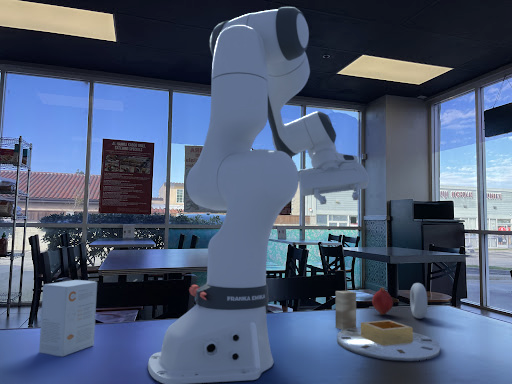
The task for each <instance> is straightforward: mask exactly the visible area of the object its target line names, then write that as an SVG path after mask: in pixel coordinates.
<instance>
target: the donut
mask: <svg viewBox="0 0 512 384" xmlns="http://www.w3.org/2000/svg"><path fill="white" fill-rule="evenodd" d="M409 301H410V302H409V305H410V311H411V314H412V316H413V317H414V318H416V319H419V320H420V319H421V320H422V319H423V318H425V316H426V314H427V311H428V293H427V290H426V287H425V286H424V284H422V283H420V282H415V283H413V284H412V286H411V288H410V293H409Z"/></svg>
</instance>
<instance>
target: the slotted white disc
mask: <svg viewBox="0 0 512 384" xmlns="http://www.w3.org/2000/svg"><path fill="white" fill-rule="evenodd" d="M336 339H337V340H336V341H337V344H338V345H339V346H340V347H341V348H343V349H344V350H347V351H349V352H351V353H354V354H358V355H360V356H364V357H368V358H373V359H379V360H386V361H398V362H417V361H418V362H419V360H420V361H426V359H427V360H430V359H434V358H435V357H438V356H439V355H440V343H439V342H437V341H436V340H435V339H433V338H432V337H429V336H427V335H424V334H421V333H419V332H415V331H413V326H410V325H406V324H403V323H400V322H396V321H393V320H390V319H386V320H376V321H375V320H374V321H362V322H360V326H358V327H357V326H356V328H349V329H345V330H340V331H339V332H338V333H337V336H336Z"/></svg>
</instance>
